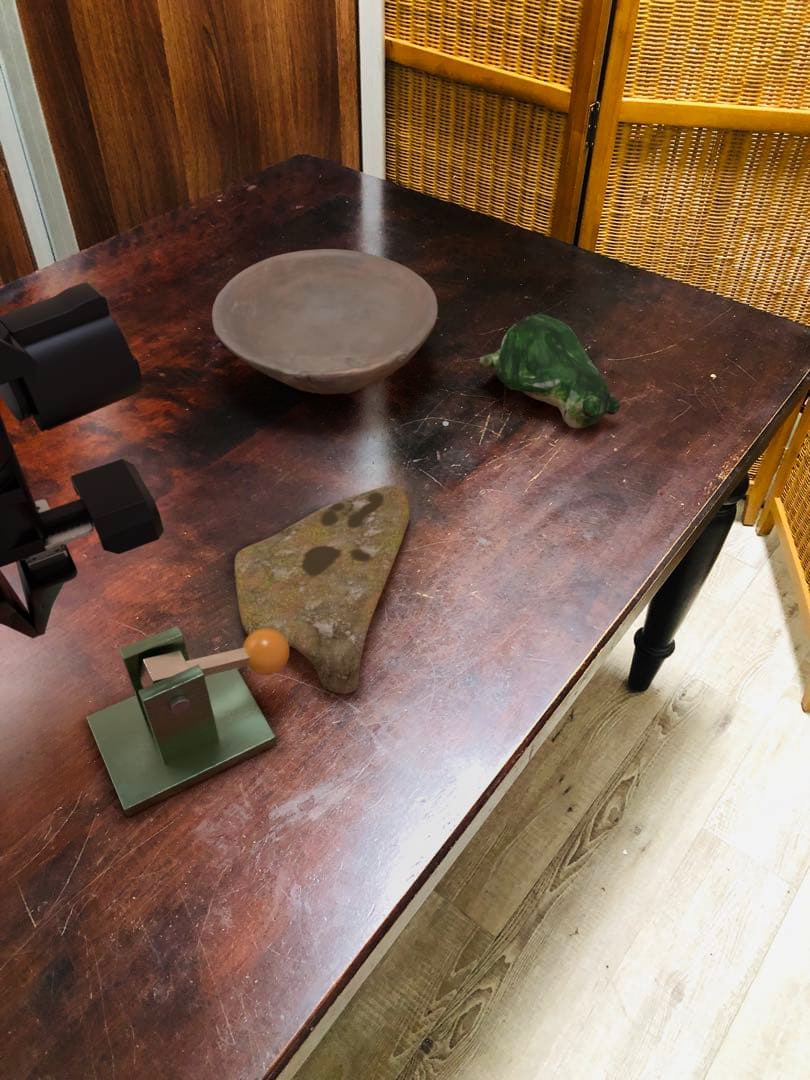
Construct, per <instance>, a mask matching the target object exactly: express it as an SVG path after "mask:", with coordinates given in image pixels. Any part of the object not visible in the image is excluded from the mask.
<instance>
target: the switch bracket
mask: <svg viewBox="0 0 810 1080" xmlns="http://www.w3.org/2000/svg"><path fill="white" fill-rule="evenodd" d="M187 649H188V648H187V645H186V642H185V638H184V635H183V632H182V630H181V628H180V626H179V625H178V624H177V625H175V626H172V627H169V628H168V629H165V630H163V631H160V632H157V633H156V634H153V635H151V636H148V637H146V638H144V639H141V640H139V641H136V642H134V643H132V644H128V645H127V646H124V647H122V648H120V649H118V650H119V653H120V657H121V659H122V662H123V665H124V668H125V670H126V673H127V676H128V680H129V683H130V684H131V688H132V691H133V693H134V695H132V696H130V697H128V698H126V699H123V700H121V701H119V702H117V703H114V704H111V705H109V706H106V707H105V708H102V709H100V710H98V711H96V712H93V713H91V714H89V715H87V716H85V717H86V721H87V723H88V725H89V728H90V730H91V732H92V735H93V738H94V740H95V743H96V746H97V748H98V751H99V753H100V755H101V757H102V760H103V761H104V762H103V763H104V764H105V767H106V770H107V772H108V775H109V777H110V779H111V782H112V784H113V787H114V789H115V792H116V794H117V796H118V799H119V801H120V803H121V806H122V810H123V811H124V813H125V816H126V818H129V817H131V816H133V815H135V814H137V813H139V812H141V811H143V810H146V809H148V808H149V807H151V806H154V805H156V804H158V803H160V802H162V801H164V800H166V799H168V798H171V797H172V796H174V795H177V794H178V793H180V792H183V791H184V790H187V789H189V788H190V787H192V786H195V785H196V784H199V783H201V782H203V781H205V780H207V779H209V778H211V777H213V776H215V775H217V774H219V773H221V772H223V771H226V770H227V769H229V768H232V767H234V766H236V765H238V764H239V763H242V762H244V761H246V760H248V759H250V758H253V757H254V756H257V755H258V754H260V753H262V752H264V751H266V750H268V749H270V748H272V747H274V746H277V738H276V735H275V733H274V731H273V729H272V728H271V726H270V724H269V722H268V721H267V719H266V717H265V715H264V713H263V711H262V710H261V707H260V706H259V705H258V703H257V701H256V699H255V698H254V696H253V694H252V692H251V690H250V688H249V687H248V684H247V683H246V681H245V680H244V678H243V676H242V674H241V673H240V671H239V668H238V669H234V670H230V671H226V672H222V673H218V674H214V675H210V676H206V677H204V674H203V672H202V670H201V668H200V666H199V665H196V666H194V667H192V668H189V669H187V670H185V671H182V672H180V673H178V674H175V675H173V676H171V677H169V678H166V679H164V680H162V681H159V682H157V683H155V684H152V685H150V686H148V687H146V688H143V686H142V684H141V682H140V677H141V670H142V663H143V659H145V658H149V657H153V656H158V655H162V654H167V653H171V652H175V651H181V653H182V655H183V657H184V659H185V661H188V660H190V658H189V653H188V650H187Z"/></svg>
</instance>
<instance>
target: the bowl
mask: <svg viewBox="0 0 810 1080" xmlns="http://www.w3.org/2000/svg"><path fill="white" fill-rule="evenodd" d="M438 315H439V304H438V299H437V296H436V294H435V291H434V290H433V288H432V287H431V286H430V285H429V283H428V282H427V281H426V280H425V279H424V278H423V277H421V276H420V275H419V274H417V273H416V272H415V271H414V270H412V269H410V268H408V267H407V266H405V265H403V264H400V263H399V262H396V261H393V260H391V259H389V258H387V257H383V256H379V255H375V254H372V253H368V252H362V251H358V250H357V251H356V250H349V249H338V248H323V249H322V248H320V249H307V250H298V251H292V252H286V253H283V254H279V255H275V256H271V257H268V258H266V259H263V260H261V261H259V262H255V263H254V264H252V265H250V266H248V267H247V268H245V269H243V270H242V271H240V272H239V273H237V274H236V275H235V276H234V277H232V278H231V279H230V280H229V281H228V282H227V284H225V286H224V287H223V288H221V290H220V291H219V293H218V294H217V295H216V297H215V300H214V303H213V305H212V310H211V319H212V321H211V322H212V327H213V330H214V331H213V332H214V333H215V334H216V336H217V338H218V339H219V341H220V342H221V343H222V344H223V345H224V346H225V347H226V348H227V349H228V350H229V351H230V352H231V353H232V354H233V355H234V356H236V357H237V358H238V359H240V360H241V361H243V362H244V363H246V364H247V365H248V366H250V367H252V368H253V369H255V370H257V371H259V372H260V373H263V374H264V375H267V376H268V377H270V378H272V379H274V380H276V381H279V382H281V384H282V383H283V384H285V385H287V386H289V387H292V388H294V389H295V390H298V391H301V392H307V393H308V392H309V393H311V394H319V395H337V394H347V395H348V394H350V393H353V392H358V391H360V390H362V389H366V388H370V387H373V386H376V385H378V384H380V383H381V382H382V381H384V380H385V379H386V378H388V377H389V376H390V375H392V374H393V373H394V372H395V371H397V370H399V369H400V368H402V367H403V366H404V365H405V364H407V363H408V362H409V361H410V360H411V359H412V358H413V357H414V356H415V355H416V353H417V352H418V351H420V349H421V348H422V347H423V345H424V343H425V342H427V339H428V338H429V336H430V334H431V333H432V332H433V330H434V328H435V326H436V323H437V319H438Z"/></svg>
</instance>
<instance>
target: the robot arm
mask: <svg viewBox="0 0 810 1080" xmlns="http://www.w3.org/2000/svg"><path fill="white" fill-rule="evenodd" d="M142 389H143V377H142V372H141V367H140V363H139V361H138V358H137V357H136V356H135V355H134V354H133V353H132V351H131V349H130V346H129V344H128V342H127V340H126V338H125V336H124V334H123V332H122V331H121V328H120V327H119V325H118V324H117V322H116V320H115V319H114V317H113V316H112V314H111V311H110V309H109V304H108V301H107V297H105V295H103V293H101V292H100V291H99V290H98V289H96V288H95V287H94V286H93V285H92V284H91V283H89V282H88V281H84V282H81V283H79V284H75V285H73V286H70V287H68V288H65V289H64V290H62V291H61V292H59V293H57V294H56V295H53V296H52V297H48V298H46V299H42V300H40V301H37V302H34V303H32V304H29V305H26V306H23V307H20V308H17V309H14V310H12V311H9V312H6V313H3V314H0V397H1V399H2V400H3V402H4V404H5V406H6V408H7V409H8V410H9V412H10V413H11V415H12V416H13V417H14V418H15V419H16V421H18V422H20V423H22V422H24V421H27V420H30V419H31V418H33V420H34V423H35V424H36V426H37V427H38V429H39V431H40V432H41V433H43V432H45V431H48V432H49V431H51V430H54V429H57V428H59V427H61V426H64V425H65V424H68V423H70V422H73V421H75V420H77V419H80V418H83V417H85V416H87V415H89V414H91V413H95V412H97V411H98V410H101V409H103V408H106V407H108V406H111V405H113V404H115V403H118V402H120V401H122V400H125V399H128V398H130V397H132V396H134V395H136V394H138V393H140V392H141V390H142ZM69 479H70V482H71V485H72V487H73V490H74V492H75V495H76V496H78V497H79V499H76V500H73V501H70V502H68V503H64V504H62V505H61V504H60V505H58V506H56V507H53V508H50V505H49V503H48V501H47V500H46V499H44V498H42V499H37V500H36V501H35V499H34V496H33V493H32V492H31V491H32V490H31V489H30V485H29V483H28V481H27V478H26V476H25V474H24V469H23V468H22V466H21V463H20V460H19V457H18V455H17V453H16V449H15V447H14V445H13V442H12V439H11V437H10V434H9V432H8V430H7V426H6V424H5V422H4V420H3V417H2V414H1V413H0V568H3V567H6V566H9V565H11V564H14V563H15V564H16V567H17V571H18V575H19V580H20V584H21V587H22V592H23V595H24V600H25V604H24V603H23V601H22V600H21V598H20V597H19V595H18V594H17V592H16V590H15V589H14V588H13V587H12V585H11V583H10V582H9V581H8V579H7V578H6V576H5V574H4V573H3V571H2V570H1V569H0V625H3V626H6V627H7V628H10V629H12V630H14V631H16V632H18V633H20V634H22V635H24V636H26V637H29V638H31V639H36V638H38V637H41V636H43V635H45V634H46V631H47V628H48V627H47V626H48V623H49V620H50V615H51V612H52V609H53V606H54V604H55V602H56V599H57V598H58V596H59V594H60V592H61V590H62V588H63V586H64V585H65V584H66V583H68V582H70V581H72V580H74V579H75V578H76V577H77V576H78V569H77V566H76V564H75V562H74V559H73V556H72V555H71V552H70V550H69V549H68V546H69V543H70V542H74V541H76V540H79V539H81V538H84V537H87V536H90V535H92V534H94V532H96V534H97V537H98V540H99V542H100V545H101V548H102V549H103V551H105V552H109V553H113V554H116V555H121V554H123V553H126V552H130V551H133V550H134V549H137V548H139V547H140V548H141V547H142V546H146V545H148V544H150V543H154V542H156V541H159V540H160V538H161V536H162V535H163V534H164V532H165V530H164V526H163V522H162V517H161V514H160V511H159V509H158V506H157V504H156V501H155V499H154V498H153V496H152V493H151V491H150V490H149V488H148V486H147V485H146V483H145V482H144V479H143V478H142V477H141V475H140V473H139V471H138V470H137V468H136V466H135V464H134V463H132V462H130V461H128V460H126V459H124V458H120V459H118V460H117V459H116V460H114V461H111V462H109V463H105V464H102V465H100V466H96V467H93V468H90V469H87V470H83V471H81V472H78V473H75V474H72V475H70V477H69ZM25 605H26V606H25Z"/></svg>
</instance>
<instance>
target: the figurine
mask: <svg viewBox="0 0 810 1080" xmlns="http://www.w3.org/2000/svg"><path fill="white" fill-rule="evenodd" d="M477 363H478V364H477V368H478V369H479V370H481V371H484V370H487V369H491V371H492V372H493V373H495V375H496V378H498V380H499V381H500V382H502V383H503V384H504V386H506V387H507V388H508V389H511V390H515V391H519V392H522V393H523V394H525V395H526V396H528V397H530V398H532V399H534V400H537V401H540V402H544V403H546V404H548V405H551V406H553V407H556V408H558V409H559V411H560V413H561V415H562V419H563V421H564V423H565V424H567V426H568V427H570V428H572V429H582V428H583V429H584V428H587V427H589V426H592V425H594V424H595V423H597V422H598V421H599V420H600V419H601V418H602V417H603V416H605V415H610V416H612V415H615V414H617V413H618V412H619V410H620V408H621V402H620V400H618V399H617V398H616V397H615V396H613V395H612V394H611V392H610V389H609V387H608V384H607V382H606V380H605V378H604V376H603V375H602V373H601V371H600V370H599V369H598V368H597V367H596V366H595V365H594V363H593V361H591V359H590V358H589V356H588V354H587V353H586V350H585V348H584V346H583V344H582V343H581V341H580V339H579V338H578V336H577V335H576V333H575V332H574V330H573V329H572V328H571V327H570V326H569V325H568V324H566V323H565V322H563V321H561V320H560V319H557V318H554V317H551V316H549V315H546V314H543V313H542V314H541V313H538V314H536V313H535V314H532V315H527V316H526V317H523V318H521V319H520V320H519V321H517V322H516V323H515V324H514V325H512V326H511V327H510V328H509V329H508V330H506V332H505V335H503V337H502V340H501V345H500V348H499V349H497V350H496V351H494V352H491V353H488V354H485V355H483V356H481V357H480V358H478V362H477Z"/></svg>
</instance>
